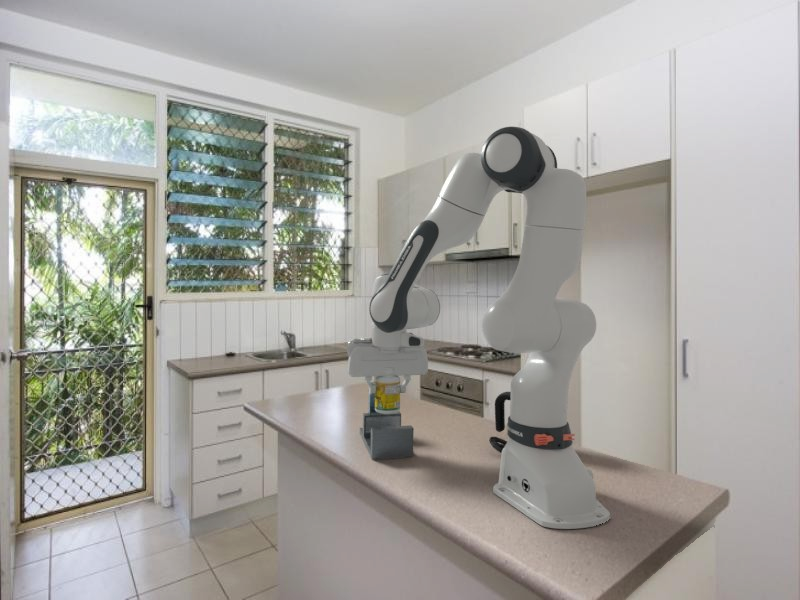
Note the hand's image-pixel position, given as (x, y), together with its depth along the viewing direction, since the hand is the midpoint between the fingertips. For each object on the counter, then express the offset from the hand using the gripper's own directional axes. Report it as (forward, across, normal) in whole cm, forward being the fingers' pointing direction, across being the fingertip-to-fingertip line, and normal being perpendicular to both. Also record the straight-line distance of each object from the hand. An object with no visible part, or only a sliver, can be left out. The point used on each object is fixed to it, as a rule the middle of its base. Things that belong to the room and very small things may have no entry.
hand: (387, 393), depth 113 cm
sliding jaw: (+13, 0, +10) cm, 16 cm away
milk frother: (+14, +33, -7) cm, 36 cm away
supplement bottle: (+5, 0, 0) cm, 5 cm away
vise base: (+14, 0, +3) cm, 14 cm away
